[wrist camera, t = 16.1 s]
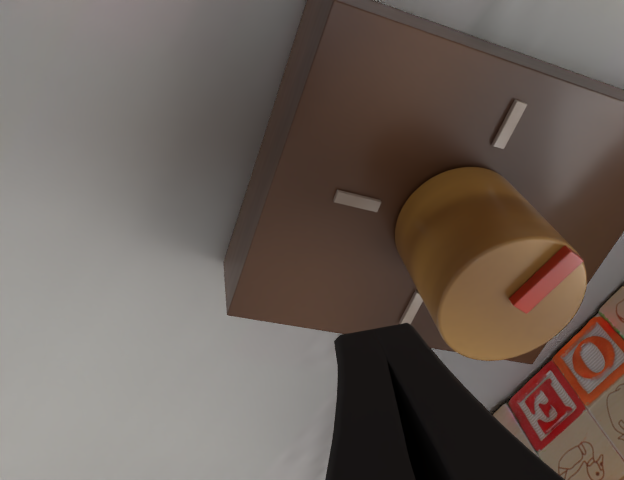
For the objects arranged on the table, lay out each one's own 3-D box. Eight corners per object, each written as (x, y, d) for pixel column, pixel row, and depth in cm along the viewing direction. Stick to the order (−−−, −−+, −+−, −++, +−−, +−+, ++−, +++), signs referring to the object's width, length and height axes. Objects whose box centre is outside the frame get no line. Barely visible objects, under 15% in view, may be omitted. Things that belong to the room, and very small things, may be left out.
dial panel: (222, 263, 21) (226, 318, 19) (313, -21, 17) (334, 0, 14) (499, 314, 25) (534, 367, 22) (635, 94, 20) (700, 128, 18)
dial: (455, 294, 20) (512, 388, 16) (367, 241, 18) (409, 334, 15) (542, 206, 19) (624, 288, 15) (457, 141, 17) (527, 215, 13)
